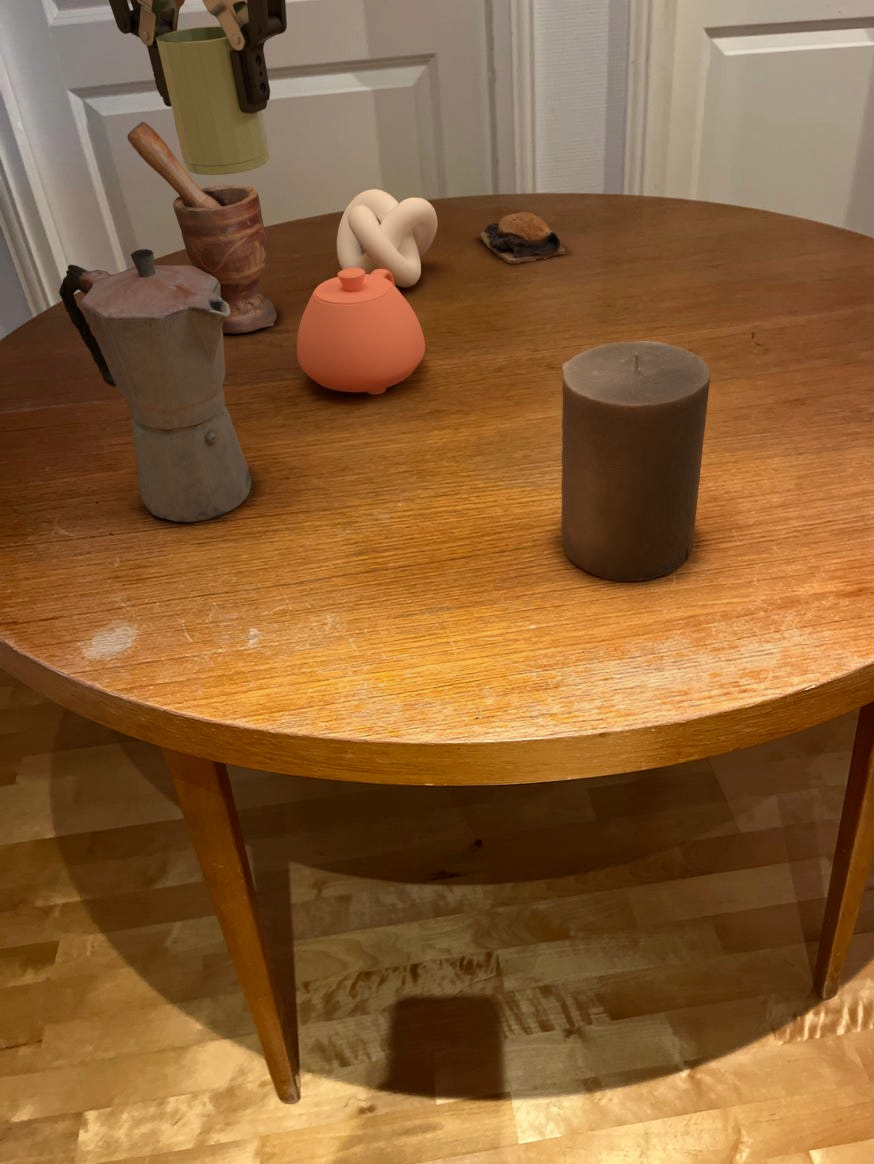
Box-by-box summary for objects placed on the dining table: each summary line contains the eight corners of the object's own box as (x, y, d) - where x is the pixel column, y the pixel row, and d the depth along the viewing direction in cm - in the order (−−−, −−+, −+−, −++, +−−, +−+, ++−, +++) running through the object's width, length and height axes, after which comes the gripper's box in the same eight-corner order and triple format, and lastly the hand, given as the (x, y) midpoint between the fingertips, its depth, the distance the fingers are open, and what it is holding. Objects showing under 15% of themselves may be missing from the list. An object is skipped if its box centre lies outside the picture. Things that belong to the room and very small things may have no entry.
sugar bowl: (278, 395, 94) (258, 289, 87) (346, 336, 103) (332, 236, 97) (394, 412, 90) (381, 303, 83) (453, 349, 99) (446, 247, 93)
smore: (475, 239, 124) (473, 209, 122) (536, 228, 126) (536, 198, 124) (505, 266, 116) (504, 234, 114) (570, 254, 118) (570, 222, 116)
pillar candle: (691, 587, 68) (714, 389, 58) (552, 577, 70) (552, 383, 60) (693, 510, 75) (714, 322, 66) (567, 503, 77) (569, 318, 67)
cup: (167, 170, 69) (136, 40, 64) (220, 148, 73) (195, 24, 68) (235, 178, 67) (209, 44, 62) (285, 154, 71) (264, 26, 66)
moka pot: (244, 542, 75) (179, 283, 62) (80, 511, 80) (-13, 264, 67) (303, 478, 82) (255, 232, 69) (149, 453, 86) (77, 218, 73)
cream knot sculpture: (414, 251, 121) (407, 174, 116) (462, 280, 113) (458, 199, 108) (331, 273, 117) (319, 194, 111) (375, 304, 109) (365, 221, 104)
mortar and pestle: (173, 346, 103) (118, 140, 90) (176, 314, 110) (125, 118, 97) (283, 331, 105) (244, 127, 92) (279, 301, 111) (242, 106, 98)
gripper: (14, -203, 57) (100, 114, 68) (209, -218, 52) (269, 129, 63) (104, -207, 62) (171, 90, 73) (290, -221, 57) (332, 101, 68)
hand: (216, 106), depth 68 cm, fingers closed on cup, 6 cm apart
